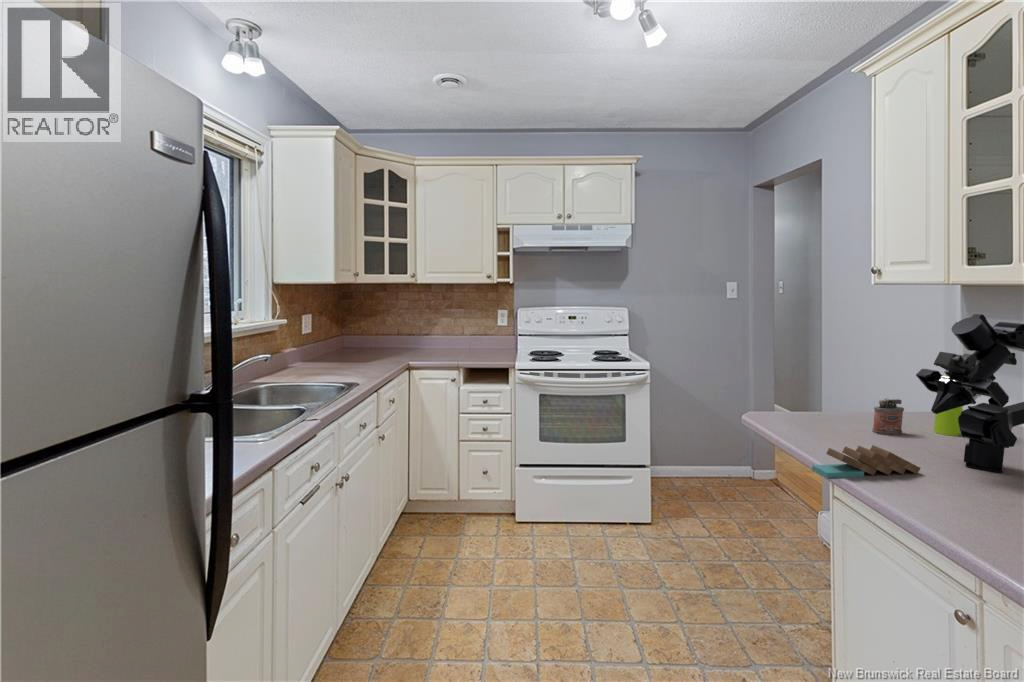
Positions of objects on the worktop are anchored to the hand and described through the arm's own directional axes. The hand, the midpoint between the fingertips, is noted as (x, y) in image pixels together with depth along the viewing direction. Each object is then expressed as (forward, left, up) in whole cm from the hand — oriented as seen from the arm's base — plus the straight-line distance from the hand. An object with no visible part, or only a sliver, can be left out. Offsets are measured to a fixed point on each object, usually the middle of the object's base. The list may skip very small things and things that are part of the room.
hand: (933, 412), depth 123 cm
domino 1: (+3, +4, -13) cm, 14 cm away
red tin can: (+13, -29, -14) cm, 35 cm away
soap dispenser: (+1, -41, -14) cm, 43 cm away
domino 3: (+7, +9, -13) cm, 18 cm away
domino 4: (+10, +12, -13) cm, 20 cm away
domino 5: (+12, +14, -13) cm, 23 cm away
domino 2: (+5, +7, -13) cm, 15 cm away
